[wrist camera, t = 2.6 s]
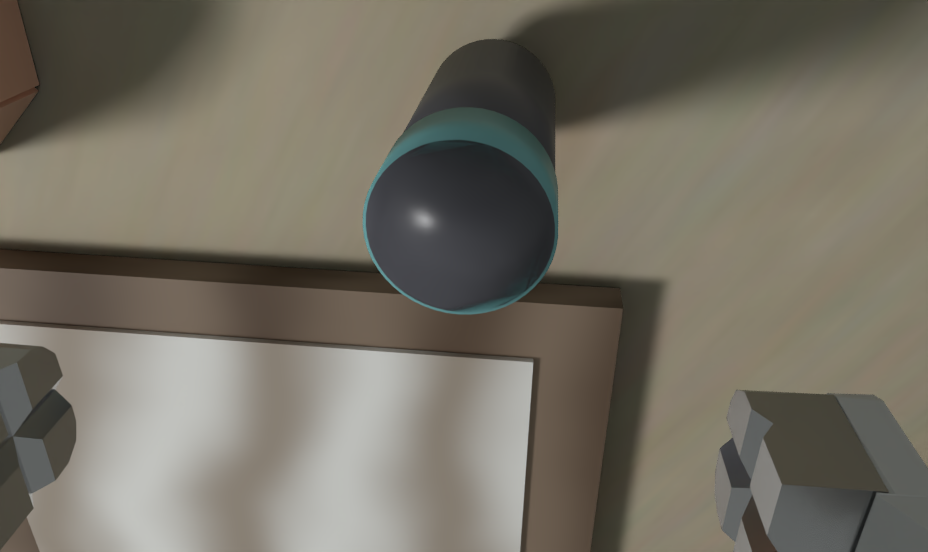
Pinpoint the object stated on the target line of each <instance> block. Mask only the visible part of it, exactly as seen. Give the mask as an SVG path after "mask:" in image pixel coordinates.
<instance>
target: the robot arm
mask: <svg viewBox="0 0 928 552" xmlns="http://www.w3.org/2000/svg"><path fill="white" fill-rule="evenodd" d="M62 377H63V374H62V371H61V368H60V365H59V363H58V360H57V357H56V354H55V353H54V352H52V351H50V350H48V349H47V348H45V347H43V346H32V345H20V344H8V343H0V550H1V549H2V548H3V546H4V545H5V544H6V542H7V541H8V540H9V539H10V537H11V536H12V535H13V534H14V532H15V531H16V530H17V529H18V527H19V526H20V525H21V524H22V522H23V521H24V520H25V519H26V517H27V516H28V515H29V514H30V512H31V511H32V510H33V509H34V506H33V496H32V493H34V492H36V491H38V490H39V489H41V488H43V487H45V486H47V485H49V484H50V483H52V482H54V481H56V479H57V478H58V477H59V475H60V474H61V473H62V471H63V470H64V469H65V467H66V466H67V465H68V463H69V461H70V458H71V455H72V452H73V449H74V446H75V443H76V419H75V415H74V411H73V408H72V405H71V404H70V403H69V402H68V401H67V400H66V399H65V398H64V397H63V396H62V395H61V394H59V393H58V392H57V391H56V388H57V386H58V384H59V382H60V381H61V379H62ZM727 421H728V424H729V427H730V430H731V433H732V436H733V438H732V439H730V440H729V441H728V442H727V443H726V444H724V445H723V446H722V447H721V448H720V449H719V455H718V460H717V465H716V471H715V500H716V507H717V513H718V517H719V521H720V525H721V529H722V530H723V531H724V532H725V533H726V534H727V535H728V536H729V537H730V538H731V539H732V540H734V541H735V546H734V550H733V552H928V468H927V466H926V465H925V463H924V462H923V460H922V459H921V457H920V456H919V454H918V453H917V451H916V450H915V448H914V447H913V445H912V444H911V442H910V441H909V439H908V438H907V436H906V435H905V433H904V432H903V430H902V429H901V427H900V426H899V424H898V423H897V421H896V420H895V418H894V417H893V415H892V413H891V412H890V410H889V409H888V407H887V406H886V404H885V403H884V401H883V400H881V399H880V398H878V397H876V396H875V395H866V394H835V393H827V394H808V393H789V392H769V391H750V390H736V391H735V393H734V395H733V397H732V399H731V402H730V406H729V410H728V414H727Z"/></svg>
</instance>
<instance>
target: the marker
mask: <svg viewBox="0 0 928 552" xmlns="http://www.w3.org/2000/svg"><path fill="white" fill-rule="evenodd" d="M363 231H364V238H365V241H366V245H367V248H368V251H369V253H370V256H371V258H372V260H373V262H374V263H375V265H376V267H377V268H378V270H379V271H380V273H381V274H382V275H383V276H384V278H385V279H386V280H387V281H388V282H389V283H390V284H391V285H392V286H393V287H394V288H395V289H397V290H398V291H399V292H400V293H401V294H403V295H404V296H406V297H407V298H409V299H411V300H412V301H414V302H416V303H418V304H420V305H422V306H425V307H428V308H430V309H433V310H437V311H441V312H445V313H452V314H480V313H486V312H490V311H495V310H497V309H500V308H503V307H506V306H508V305H510V304H512V303H514V302H516V301H517V300H519V299H520V298H522V297H523V296H525V295H526V294H527V293H528V292H530V291H531V290H532V289H533V288H534V287H535V286H536V285H537V284H538V283H539V281H540V280H541V279H542V278H543V276H544V275H545V273H546V272H547V270H548V268H549V266H550V264H551V262H552V260H553V257H554V254H555V250H556V246H557V240H558V185H557V178H556V174H555V92H554V87H553V83H552V80H551V78H550V76H549V74H548V72H547V70H546V68H545V67H544V66H543V64H542V63H541V62H540V60H539V59H538V58H536V57H535V56H534V55H533V54H532V53H531V52H529V51H528V50H527V49H525V48H523V47H521V46H520V45H517V44H515V43H512V42H509V41H504V40H497V39H485V40H479V41H475V42H472V43H469V44H467V45H465V46H462V47H461V48H459V49H458V50H456V51H454V52H453V53H452V54H451V55H450V56H449V57H448V58H447V59H446V60H445V61H444V62H443V63H442V65H441V66H440V68H439V69H438V71H437V73H436V75H435V76H434V78H433V80H432V82H431V84H430V85H429V87H428V89H427V91H426V93H425V95H424V96H423V98H422V100H421V102H420V104H419V105H418V107H417V109H416V111H415V113H414V114H413V116H412V118H411V120H410V122H409V124H408V125H407V127H406V129H405V131H404V133H403V134H402V135H401V136H400V137H399V138H398V140H397V141H396V143H395V144H394V146H393V147H392V149H391V150H390V152H389V154H388V156H387V158H386V159H385V161H384V163H383V165H382V166H381V168H380V170H379V172H378V174H377V175H376V177H375V179H374V181H373V183H372V185H371V187H370V189H369V191H368V194H367V197H366V200H365V205H364V211H363Z"/></svg>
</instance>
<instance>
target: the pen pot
mask: <svg viewBox="0 0 928 552" xmlns="http://www.w3.org/2000/svg"><path fill="white" fill-rule="evenodd" d="M38 85H39V81H38V78H37V74H36V70H35V66H34V63H33V59H32V55H31V51H30V47H29V44H28V40H27V36H26V32H25V29H24V25H23V21H22V17H21V13H20V10H19V6H18V2H17V0H0V144H1V143H2V141H3V140H4V138H5V137H6V136H7V134H8V133H9V132H10V130H11V129H12V127H13V126H14V125H15V123H16V122H17V120H18V119H19V118H20V116H21V115H22V113H23V112H24V111H25V109H26V108H27V106H28V105H29V104H30V102H31V101H32V99H33V98H34V97H35V95H36V94H37V92H38V90H37V89H36V88H35V87H36V86H38Z"/></svg>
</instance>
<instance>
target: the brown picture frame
mask: <svg viewBox="0 0 928 552" xmlns="http://www.w3.org/2000/svg"><path fill="white" fill-rule="evenodd" d="M622 314H623V304H622V298H621V291H620V288H608V287H592V286H576V285H560V284H544V283H538V284H537V285H536V286H535V287H534V288H533V289H532V290H531V291H530V292H528V293H527V294H526V295H525V296H523V297H522V298H520V299H519V300H517V301H516V302H514V303H512V304H510V305H508V306H506V307H503V308H500V309H497V310H495V311H490V312H486V313H480V314H452V313H445V312H441V311H437V310H433V309H430V308H428V307H425V306H422V305H420V304H418V303H416V302H414V301H412V300H411V299H409V298H407V297H406V296H404V295H403V294H401V293H400V292H399V291H398V290H397V289H395V288H394V287H393V286H392V285H391V284H390V283H389V282H388V281H387V280H386V279H385V278H384V276H383V275H382V274H381V273H369V272H353V271H337V270H322V269H306V268H290V267H274V266H258V265H242V264H226V263H210V262H194V261H179V260H163V259H147V258H131V257H115V256H99V255H83V254H67V253H51V252H36V251H20V250H4V249H0V343H8V344H20V345H32V346H43V347H45V348H47V349H48V350H50V351H52V352H54V353H55V354H56V357H57V360H58V363H59V365H60V368H61V371H62V374H63V377H62V379H61V381H60V382H59V384H58V386H57V388H56V391H57V392H58V393H59V394H61V395H62V396H63V397H64V398H65V399H66V400H67V401H68V402H69V403H70V404H71V405H72V408H73V411H74V415H75V419H76V443H75V446H74V449H73V452H72V455H71V458H70V461H69V463H68V465H67V466H66V467H65V469H64V470H63V471H62V473H61V474H60V475H59V477H58V478H57V479H56V481H54V482H52V483H50V484H49V485H47V486H45V487H43V488H41V489H39V490H38V491H36V492H34V493H32V496H33V506H34V509H33V510H32V511H31V512H30V514H29V515H28V516H27V517H26V519H25V520H24V521H23V522H22V524H21V525H20V526H19V527H18V529H17V530H16V531H15V532H14V534H13V535H12V536H11V537H10V539H9V540H8V541H7V542H6V544H5V545H4V546H3V548H2V549H1V550H0V552H590V550H591V542H592V535H593V527H594V520H595V513H596V505H597V498H598V491H599V483H600V476H601V469H602V461H603V454H604V446H605V439H606V432H607V424H608V417H609V410H610V402H611V395H612V387H613V380H614V373H615V365H616V358H617V351H618V343H619V336H620V328H621V321H622Z"/></svg>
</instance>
